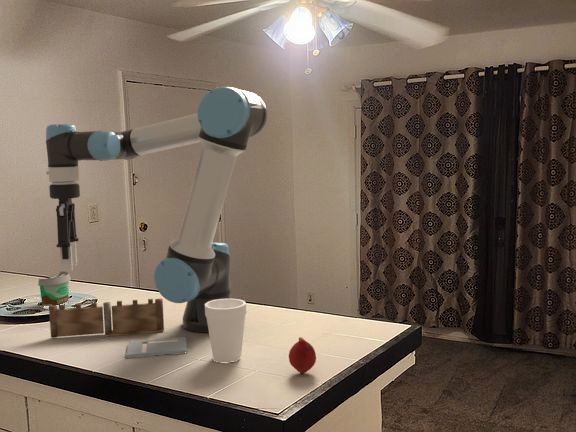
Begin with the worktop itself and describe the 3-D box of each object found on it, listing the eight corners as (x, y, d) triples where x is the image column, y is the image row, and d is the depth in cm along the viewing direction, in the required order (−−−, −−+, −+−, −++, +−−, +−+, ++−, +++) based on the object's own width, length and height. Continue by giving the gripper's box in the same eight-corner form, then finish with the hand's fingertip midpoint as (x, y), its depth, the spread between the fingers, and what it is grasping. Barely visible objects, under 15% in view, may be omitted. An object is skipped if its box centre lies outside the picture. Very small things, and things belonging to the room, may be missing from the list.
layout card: (185, 340, 149) (185, 336, 149) (186, 353, 140) (186, 349, 140) (129, 344, 147) (129, 340, 147) (126, 358, 137) (126, 354, 137)
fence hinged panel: (104, 331, 156) (102, 301, 155) (103, 333, 154) (101, 303, 153) (51, 335, 154) (49, 304, 153) (50, 337, 152) (48, 306, 151)
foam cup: (227, 349, 142) (225, 296, 141) (255, 357, 136) (254, 302, 135) (198, 360, 135) (196, 305, 133) (226, 369, 129) (224, 311, 127)
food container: (58, 311, 178) (55, 279, 177) (39, 311, 180) (37, 279, 179) (80, 301, 190) (78, 271, 189) (62, 300, 192) (61, 270, 191)
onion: (315, 368, 129) (314, 332, 128) (317, 378, 123) (316, 341, 122) (288, 368, 128) (288, 333, 128) (289, 379, 123) (288, 342, 122)
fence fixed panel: (164, 327, 160) (162, 296, 159) (163, 332, 156) (162, 300, 155) (105, 332, 157) (104, 300, 156) (104, 336, 153) (102, 304, 152)
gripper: (56, 181, 165) (61, 262, 167) (41, 185, 145) (47, 276, 148) (84, 181, 166) (89, 260, 169) (73, 184, 147) (78, 274, 149)
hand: (69, 268), depth 158 cm, fingers open, 7 cm apart
